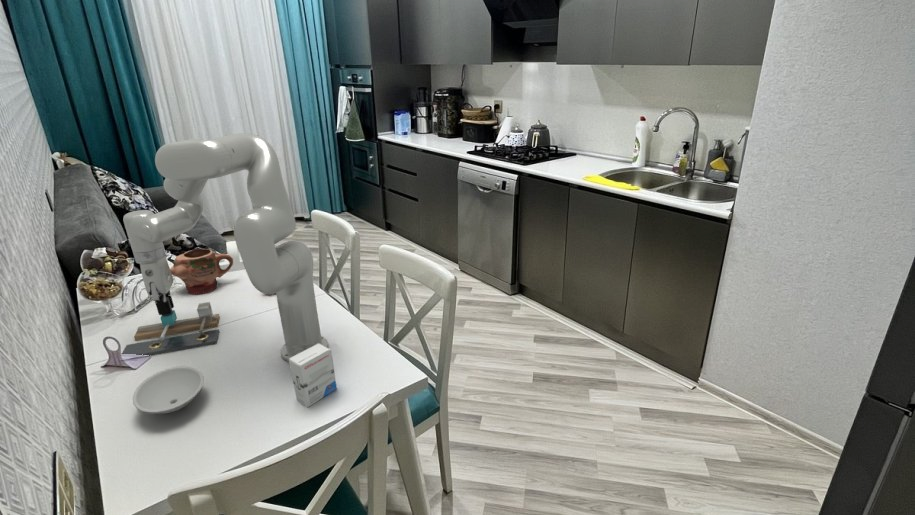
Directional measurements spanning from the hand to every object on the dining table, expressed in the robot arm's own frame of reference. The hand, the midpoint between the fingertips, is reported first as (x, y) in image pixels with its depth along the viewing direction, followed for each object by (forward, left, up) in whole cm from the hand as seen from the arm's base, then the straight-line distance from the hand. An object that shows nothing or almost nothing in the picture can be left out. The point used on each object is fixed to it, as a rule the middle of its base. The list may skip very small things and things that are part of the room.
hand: (166, 310), depth 140 cm
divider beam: (-4, -2, -7) cm, 8 cm away
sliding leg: (-4, 0, -5) cm, 6 cm away
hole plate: (-10, -2, -7) cm, 12 cm away
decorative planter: (+29, -6, -7) cm, 30 cm away
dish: (-39, -8, -7) cm, 40 cm away
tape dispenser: (+47, -14, -7) cm, 50 cm away
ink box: (-47, -40, -7) cm, 62 cm away
